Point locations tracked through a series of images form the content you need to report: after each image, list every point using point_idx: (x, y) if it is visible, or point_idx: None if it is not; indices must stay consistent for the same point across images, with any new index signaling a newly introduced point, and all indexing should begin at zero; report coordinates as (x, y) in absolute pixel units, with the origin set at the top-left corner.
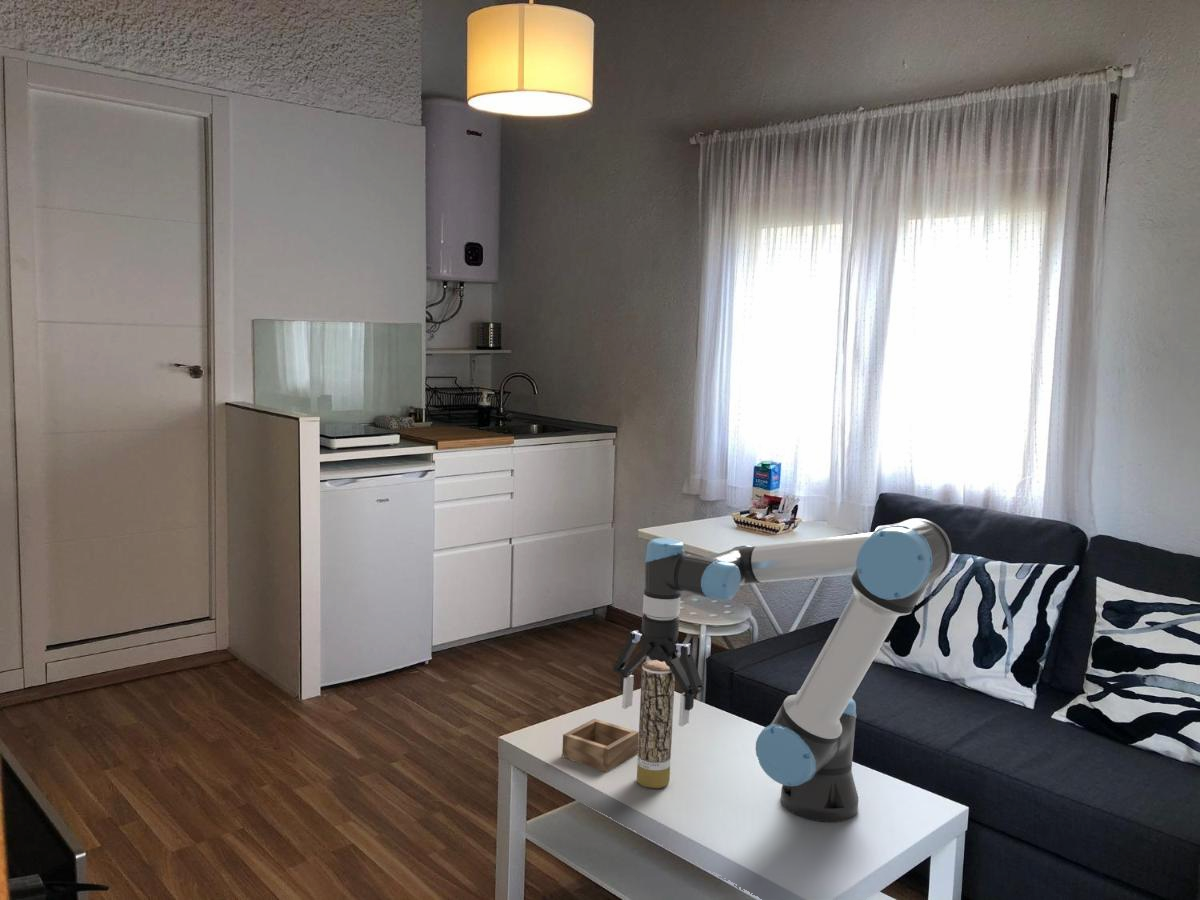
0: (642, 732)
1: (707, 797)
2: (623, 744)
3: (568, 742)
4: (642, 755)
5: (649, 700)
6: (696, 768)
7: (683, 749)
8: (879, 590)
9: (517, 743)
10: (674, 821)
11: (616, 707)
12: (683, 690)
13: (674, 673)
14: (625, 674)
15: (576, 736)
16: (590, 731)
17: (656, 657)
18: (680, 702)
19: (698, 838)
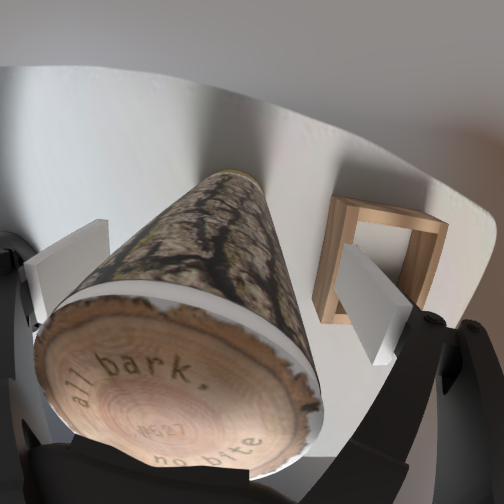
0: (243, 187)
1: (119, 207)
2: (332, 264)
3: (431, 218)
4: (240, 177)
5: (200, 206)
6: None
7: None
8: None
9: (486, 222)
10: (128, 87)
11: None
12: (14, 276)
13: (4, 337)
14: (415, 320)
15: (426, 231)
16: (410, 293)
17: (135, 483)
18: (58, 250)
19: (79, 71)
